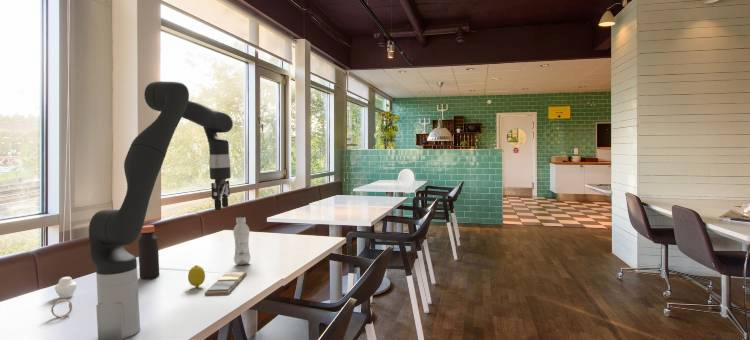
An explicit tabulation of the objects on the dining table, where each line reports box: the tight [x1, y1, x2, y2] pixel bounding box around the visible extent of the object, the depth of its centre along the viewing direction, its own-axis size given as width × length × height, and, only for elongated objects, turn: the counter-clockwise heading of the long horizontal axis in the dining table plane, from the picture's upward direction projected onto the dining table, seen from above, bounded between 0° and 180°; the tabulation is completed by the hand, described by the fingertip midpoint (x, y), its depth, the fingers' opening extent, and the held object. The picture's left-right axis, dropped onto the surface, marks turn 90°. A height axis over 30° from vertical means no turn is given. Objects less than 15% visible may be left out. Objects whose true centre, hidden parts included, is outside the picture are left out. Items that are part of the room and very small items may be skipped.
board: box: [204, 271, 247, 296], centre depth 151 cm, size 22×8×2 cm, turn 2°
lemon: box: [187, 264, 206, 288], centre depth 148 cm, size 6×6×8 cm
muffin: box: [54, 276, 78, 299], centre depth 142 cm, size 6×6×7 cm
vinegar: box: [137, 224, 160, 280], centre depth 162 cm, size 7×7×20 cm
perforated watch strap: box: [50, 298, 73, 318], centre depth 124 cm, size 3×5×5 cm, turn 138°
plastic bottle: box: [232, 216, 251, 266], centre depth 177 cm, size 6×7×20 cm
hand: (221, 208), depth 160 cm, fingers open, 8 cm apart
